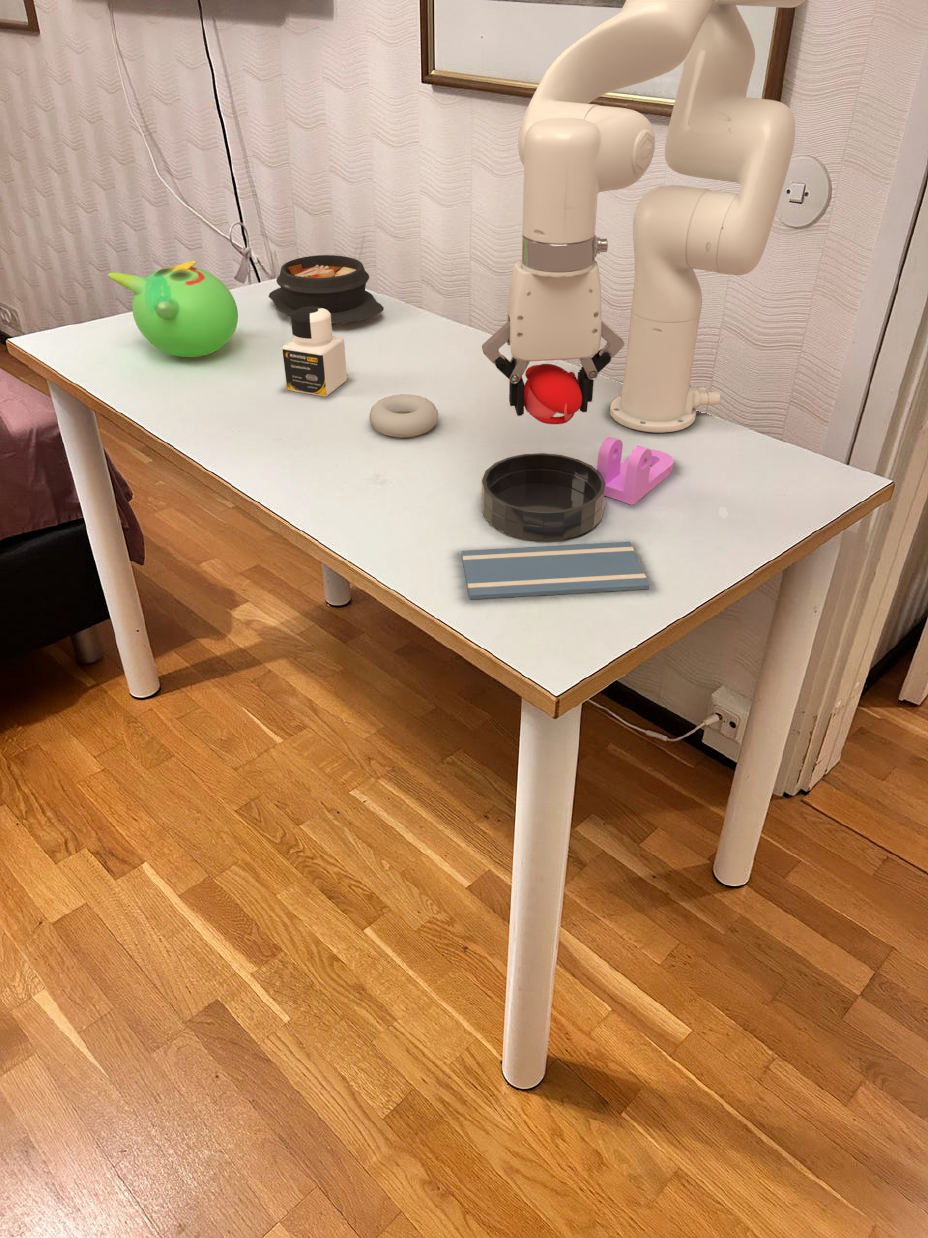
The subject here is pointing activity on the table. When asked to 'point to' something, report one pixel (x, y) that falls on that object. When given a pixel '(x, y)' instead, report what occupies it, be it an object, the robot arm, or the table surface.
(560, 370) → the red rounded lobed piece
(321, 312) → the medicine bottle
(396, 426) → the donut
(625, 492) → the bracket
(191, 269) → the toy bird
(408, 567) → the table surface
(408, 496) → the table surface
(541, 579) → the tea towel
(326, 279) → the casserole
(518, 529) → the bowl
